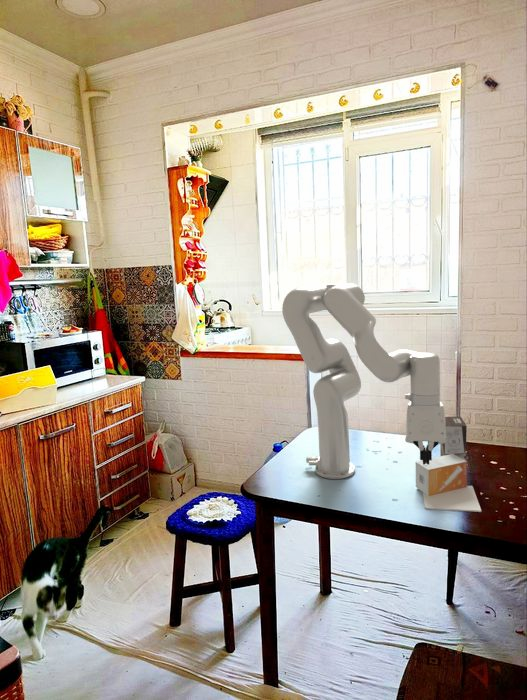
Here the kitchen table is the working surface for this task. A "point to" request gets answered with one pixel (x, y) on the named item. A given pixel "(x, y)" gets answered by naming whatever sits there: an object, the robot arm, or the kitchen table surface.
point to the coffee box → (454, 438)
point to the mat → (453, 500)
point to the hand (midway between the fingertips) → (425, 462)
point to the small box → (441, 474)
